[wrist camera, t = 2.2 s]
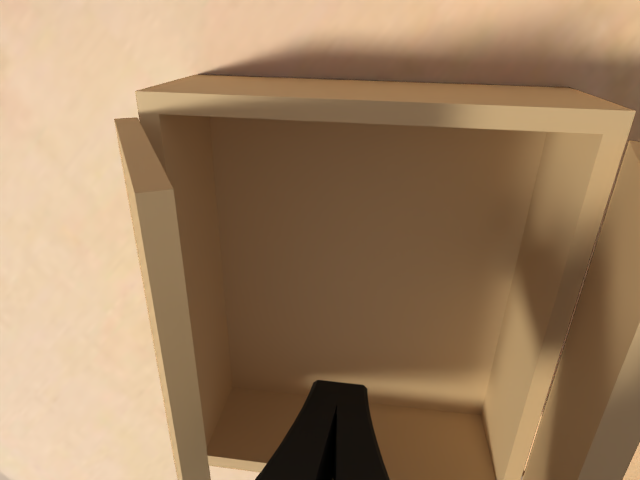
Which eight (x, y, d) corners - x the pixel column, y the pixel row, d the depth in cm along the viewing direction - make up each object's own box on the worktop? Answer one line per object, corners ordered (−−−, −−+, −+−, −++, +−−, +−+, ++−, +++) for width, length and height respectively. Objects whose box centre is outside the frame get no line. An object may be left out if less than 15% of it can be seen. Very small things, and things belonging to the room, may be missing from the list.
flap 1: (173, 189, 8) (134, 193, 7) (229, 626, 13) (209, 636, 13) (137, 117, 13) (114, 118, 13) (188, 453, 19) (173, 458, 18)
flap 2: (490, 701, 12) (514, 715, 12) (672, 237, 6) (728, 247, 6) (516, 496, 17) (533, 503, 17) (629, 140, 11) (657, 143, 11)
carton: (488, 416, 22) (512, 505, 18) (225, 386, 23) (191, 463, 19) (570, 87, 15) (636, 110, 11) (195, 74, 17) (135, 90, 13)
